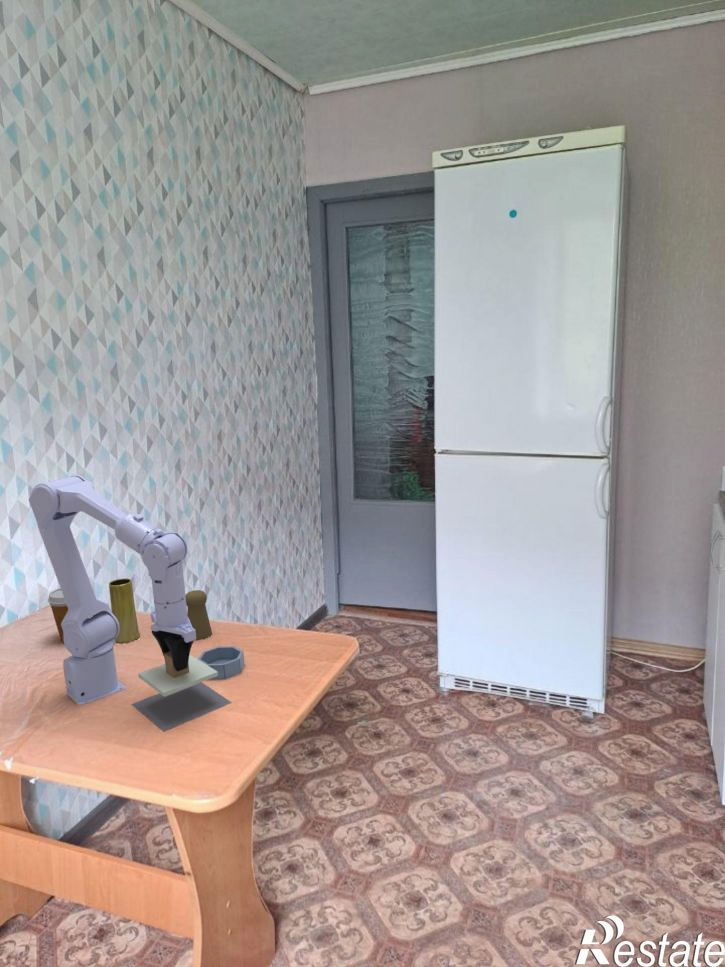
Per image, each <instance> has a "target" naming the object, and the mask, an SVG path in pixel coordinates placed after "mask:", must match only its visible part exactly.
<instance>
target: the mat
mask: <svg viewBox="0 0 725 967" xmlns="http://www.w3.org/2000/svg"><path fill="white" fill-rule="evenodd" d="M230 704H232V701H231V700H229V699H227V698H226V697H225V696H223V695H222V694H220V693H219V692H216V691H215V690H214V689H212V688H211V687H210V686H208V685H206V684H205V683H204V682H201V683H198V684H196V685H193V686H191V687H188V688H186V689H183V690H180V691H178V692H175V693H173V694H170V695H168V696H165V697H164V696H163V695H161V694H160V693H159V692H158V693H157V694H154V695H151V696H149V697H146V698H144V699H141V700H139V701H136V702H134V703H133V702H132V703H131V706H133V707H134V708H135V709H136V710H137V711H138V712H140V714H142V715H143V716H145V717H146V718H147V719H148V720H149V721H150V722H151V723H153V724H154V726H156V727H157V728H158V729H159V730H161V731H162V732H164V733H165V732H167V731H169V730H172V729H174V728H177V727H178V726H181V725H183V724H186V723H188V722H190V721H192V720H195V719H197V718H200V717H202V716H205V715H207V714H209V713H211V712H214V711H217V710H218V709H221V708H222V707H225V706H227V705H230Z"/></svg>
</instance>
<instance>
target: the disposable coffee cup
mask: <svg viewBox="0 0 725 967" xmlns="http://www.w3.org/2000/svg"><path fill="white" fill-rule="evenodd" d="M47 603H48V604H49V605H50V609H51V611H52V615H53V618H54V621H55V622H54V623H55V624H56V628H57V632H58V635H59V639H60V642H61V641H62V642H61V643H63V642H64V639H63V638H64V634H63V629H62V626H61V623H62V621H63V619H64V617H65V615H66V614H67V612H68V607H67V604H66V601H65V598H64V596H63V593H62V590H61V588H57V589H54V590H52V591H51V592H50V593H49V594H48V598H47ZM89 618H90V617H89ZM89 618H87V619H89ZM87 619H85V620H87ZM85 620H84V621H85Z"/></svg>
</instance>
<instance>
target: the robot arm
mask: <svg viewBox="0 0 725 967" xmlns="http://www.w3.org/2000/svg"><path fill="white" fill-rule="evenodd" d="M28 501H29V504H30V508H31V510H32V513H33V515H34V518H35V521H36V524H37V528H38V530H39V534H40V536H41V539H42V541H43V545H44V547H45V550H46V553H47V555H48V558H49V561H50V563H51V565H52V568H53V572H54V574H55V577H56V579H57V582H58V585H59V587H60V588H61V590H62V593H63V596H64V598H65V601H66V604H67V607H68V612H67V614H66V615H65V617H64V619H63V621H62V623H61V626H62V629H63V634H64V638H63V639H64V643H63V645H64V646H65V648H66V650H67V652H69V654H71V655H70V656H69V657H66V658H65V659H63V662H62V663H63V664H62V667H63V668H62V670H63V673H64V675H63V676H64V682H65V688H66V689H65V690H66V691H65V694H66V695H67V696H68V697H69V698H70V699H71V700H72V701H73V702H74V703H75V704H76V705H78V706H79V707H81V706H83V705H87V704H89V703H91V702H94V701H97V700H100V699H102V698H105V697H108V696H111V695H113V694H117V693H120V692H121V691H124V690H126V688H127V687H126V686H125V685H124V684H123V683H121V682H120V681H119V680H118V674H117V673H118V672H117V666H116V664H117V663H116V658H115V650H114V645H115V644H116V642H115V638H116V637H117V636H118V634H119V631H120V626H119V622H118V620H117V618H116V617H115V616H114V615H113V613H112V609H111V608H110V605H109V604H108V603H106V602H104V601H101V600H99V599H97V597H96V594H95V592H94V589H93V586H92V583H91V581H90V578H89V576H88V572H87V570H86V568H85V564H84V562H83V559H82V556H81V554H80V551H79V548H78V545H77V543H76V540H75V537H74V535H73V531H72V530H71V524H72V523H73V520H74V519H75V517H76V516H77V515H78V514H79V513H80V512H83V513H85V514H86V515H88V516H89V517H91V518H93V519H94V520H96V521H98V522H101V523H102V524H104V525H106V526H107V527H108V528H109V527H110V528H111V529H113V530H114V536H115V538H116V539H117V540H118V541H119V542H121V543H122V544H124V545H125V546H127V547H128V548H130V549H131V550H132V551H134V552H135V553H137V554H139V555H140V556H141V561H142V563H143V564H144V567H146V569H147V571H148V576H149V578H150V579H151V584H152V594H153V595H152V596H153V603H154V611H152V612H150V618H151V619H150V620H151V622H152V623H153V624H151V625H150V630H151V634H152V635H153V637H154V639H155V640H156V642H157V643H158V646H159V647H160V649H161V654H162V655H163V658H164V659H165V657H164V653H167V652H169V651H170V652H171V655H172V659H173V663H174V667H175V669H176V671H181V670H183V669H186V668H187V666H188V661H189V655H191V649H192V647H193V643H194V641H197V640H196V630H195V629H194V628H193V627H192V625H191V623H190V620H189V618H188V616H187V611H188V606H187V605H186V597H185V595H186V587H185V577H184V569H183V560H184V559H185V558H186V557H187V554H188V545H187V543H186V542H187V541H186V540H185V539H184V538H183V537H182V536H181V535H180V534H179V533H178V532H176V531H169V532H167V531H165V530H163V529H162V528H160V527H159V528H158V527H157V526H155V525H153V524H152V523H151V522H150V521H147V520H146V519H145V517H144V516H143V515H142V514H140V513H138V514H137V513H130V514H126V513H125V512H123V511H122V510H120V508H118V507H117V506H116V505H114V504H113V503H112V502H110V501H109V500H108V499H107V498H105V497H104V496H103V495H101V494H100V493H99V492H97V491H96V490H95V486H94V483H93V482H91V481H89V480H87V479H86V478H85V477H84V476H82V475H79V474H75V475H74V474H73V475H71V476H68V477H64V478H60V479H56V480H53V481H48V482H42V483H41V482H40V483H38V484H36V485H35V486H34V487H33V489H32V491H31V493H30V496H29V498H28ZM87 618H89V619H87ZM85 619H87V620H85ZM84 620H85V621H84Z"/></svg>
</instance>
